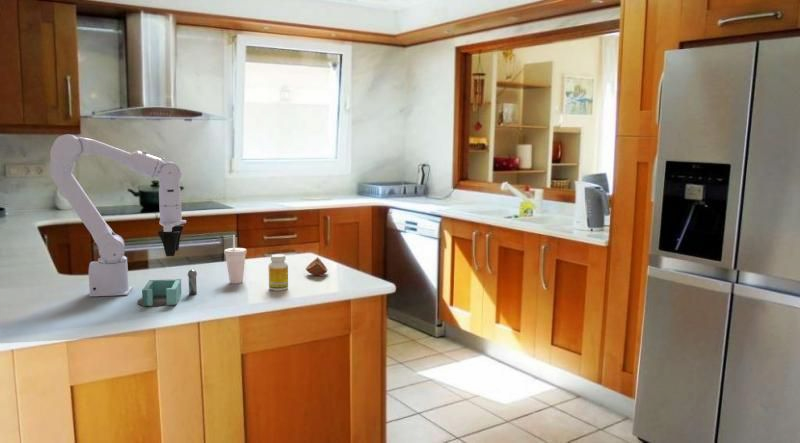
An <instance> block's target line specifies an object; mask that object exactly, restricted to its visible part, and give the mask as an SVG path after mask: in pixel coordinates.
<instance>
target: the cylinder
mask: <svg viewBox="0 0 800 443" xmlns="http://www.w3.org/2000/svg"><path fill="white" fill-rule="evenodd" d="M197 273H198V272H197V271H196V270H194V269H190V270H189V271H187V276H188V278H187V279H188V294H189V295H191V296H194V295H195V296H196V295H197V293H198V292H197V275H198V274H197Z"/></svg>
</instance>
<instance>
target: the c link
mask: <svg viewBox="0 0 800 443" xmlns="http://www.w3.org/2000/svg"><path fill="white" fill-rule="evenodd" d="M141 294H142V295H141V296H142V297H141V298H142V301H143V306H142V307H153V306H152V305H153V297H154V296H158V295H166V296H167V305H166V306H169V305H170V306H171V305H177V303H178V302H179V300H180V297H181V295H182V278H173V279H169V278H168V279H150V280H148V281H147V283H146V284H145V286H144V287H143V288H142V289H141Z"/></svg>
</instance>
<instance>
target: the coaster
mask: <svg viewBox="0 0 800 443" xmlns="http://www.w3.org/2000/svg"><path fill="white" fill-rule="evenodd" d="M137 305H139V306H141V307H144V306H143V301H142V297H141V298H139V299H138V300H137ZM163 306H168V305H167V296H166V295H158V296H154V297H153V305H152V306H151V307H163Z"/></svg>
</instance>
